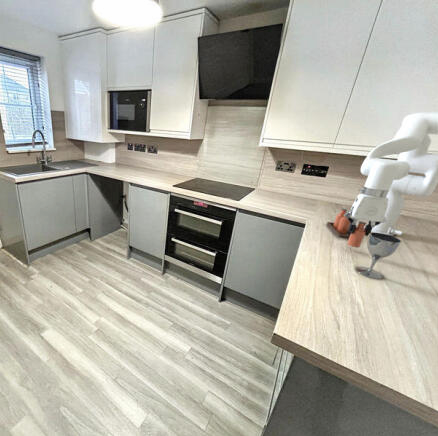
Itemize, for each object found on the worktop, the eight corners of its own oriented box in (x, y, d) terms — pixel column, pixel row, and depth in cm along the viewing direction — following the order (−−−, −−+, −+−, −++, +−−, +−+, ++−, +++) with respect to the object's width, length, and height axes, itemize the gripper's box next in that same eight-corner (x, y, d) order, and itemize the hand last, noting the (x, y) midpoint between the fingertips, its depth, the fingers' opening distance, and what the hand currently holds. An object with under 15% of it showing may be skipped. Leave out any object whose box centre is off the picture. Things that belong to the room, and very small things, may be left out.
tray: (326, 225, 134) (327, 221, 134) (343, 227, 132) (344, 224, 131) (338, 238, 118) (339, 234, 117) (358, 241, 115) (359, 238, 114)
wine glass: (376, 281, 84) (394, 244, 78) (350, 269, 91) (365, 234, 85) (387, 276, 87) (405, 240, 81) (362, 265, 94) (377, 231, 88)
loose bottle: (362, 246, 102) (371, 223, 98) (356, 248, 101) (366, 224, 97) (350, 241, 106) (359, 219, 102) (344, 243, 104) (353, 220, 100)
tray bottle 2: (348, 232, 123) (356, 213, 119) (343, 234, 122) (351, 214, 118) (339, 229, 127) (346, 210, 123) (334, 230, 125) (341, 211, 121)
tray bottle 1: (344, 228, 128) (351, 210, 125) (339, 229, 127) (346, 210, 123) (335, 225, 132) (342, 207, 128) (330, 226, 130) (337, 208, 126)
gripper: (353, 192, 94) (337, 233, 101) (407, 197, 88) (387, 240, 95) (345, 188, 100) (332, 227, 107) (395, 193, 95) (378, 233, 102)
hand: (358, 233), depth 101 cm, fingers closed on loose bottle, 4 cm apart
